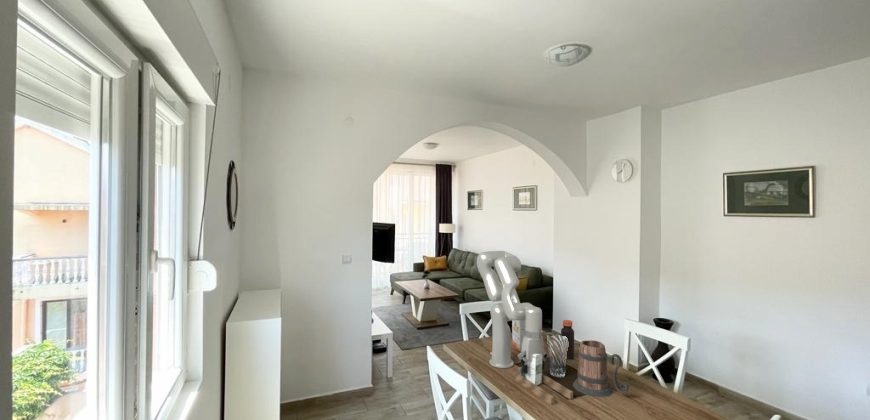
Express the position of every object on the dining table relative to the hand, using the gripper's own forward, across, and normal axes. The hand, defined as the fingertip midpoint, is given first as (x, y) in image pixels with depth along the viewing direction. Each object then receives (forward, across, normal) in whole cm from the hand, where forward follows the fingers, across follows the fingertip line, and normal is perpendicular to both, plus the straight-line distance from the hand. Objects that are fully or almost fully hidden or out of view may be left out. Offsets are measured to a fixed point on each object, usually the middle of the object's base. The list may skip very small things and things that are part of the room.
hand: (533, 370), depth 169 cm
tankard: (+6, -23, +18) cm, 30 cm away
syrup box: (+6, 0, 0) cm, 6 cm away
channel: (+6, 0, +7) cm, 9 cm away
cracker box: (+6, -22, -38) cm, 45 cm away
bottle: (+6, -37, -16) cm, 41 cm away
